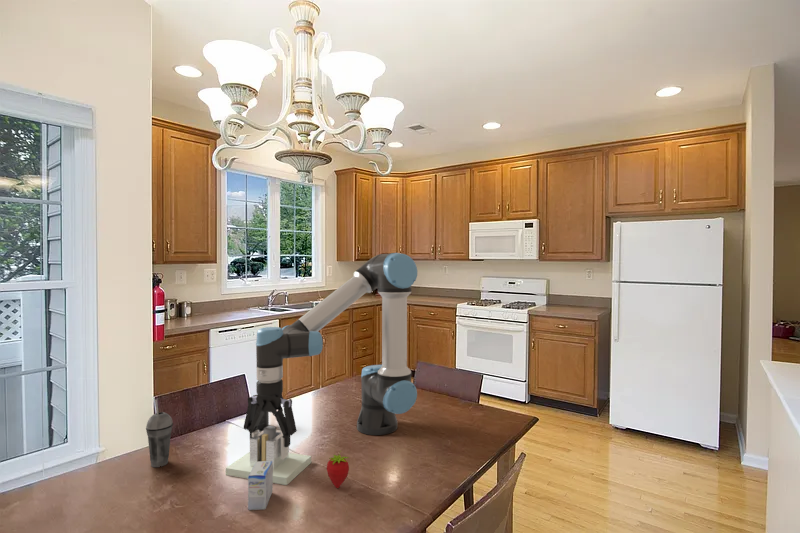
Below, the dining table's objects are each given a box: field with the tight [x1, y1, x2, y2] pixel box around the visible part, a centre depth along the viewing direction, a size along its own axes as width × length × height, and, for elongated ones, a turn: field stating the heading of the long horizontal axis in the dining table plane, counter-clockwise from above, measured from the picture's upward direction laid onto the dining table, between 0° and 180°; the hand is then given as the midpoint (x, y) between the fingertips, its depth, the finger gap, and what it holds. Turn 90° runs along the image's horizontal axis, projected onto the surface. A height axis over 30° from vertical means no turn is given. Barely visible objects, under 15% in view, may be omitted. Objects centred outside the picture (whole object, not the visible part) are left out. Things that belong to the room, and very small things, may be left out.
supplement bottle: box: [253, 394, 270, 432], centre depth 157 cm, size 7×7×12 cm
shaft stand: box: [225, 425, 312, 486], centre depth 126 cm, size 20×14×12 cm
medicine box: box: [247, 461, 274, 511], centre depth 108 cm, size 8×4×9 cm, turn 5°
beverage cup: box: [145, 398, 174, 468], centre depth 129 cm, size 7×7×20 cm
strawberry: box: [326, 450, 350, 489], centre depth 115 cm, size 6×8×10 cm
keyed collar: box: [249, 429, 290, 470], centre depth 126 cm, size 8×8×8 cm
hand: (269, 455), depth 126 cm, fingers open, 9 cm apart
